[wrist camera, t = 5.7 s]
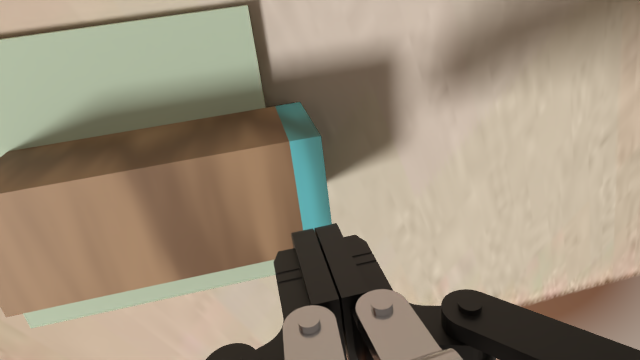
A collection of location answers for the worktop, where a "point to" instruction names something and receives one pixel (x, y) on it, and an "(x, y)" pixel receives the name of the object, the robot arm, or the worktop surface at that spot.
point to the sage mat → (129, 103)
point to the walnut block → (156, 205)
